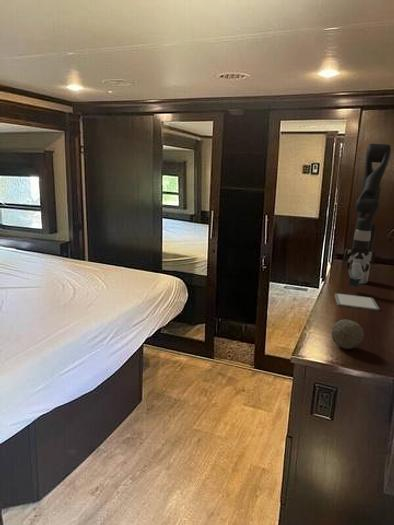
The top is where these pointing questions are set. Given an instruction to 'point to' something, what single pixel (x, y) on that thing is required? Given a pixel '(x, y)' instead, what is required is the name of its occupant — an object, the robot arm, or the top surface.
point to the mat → (356, 301)
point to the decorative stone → (347, 334)
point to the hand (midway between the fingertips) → (356, 270)
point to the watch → (354, 280)
